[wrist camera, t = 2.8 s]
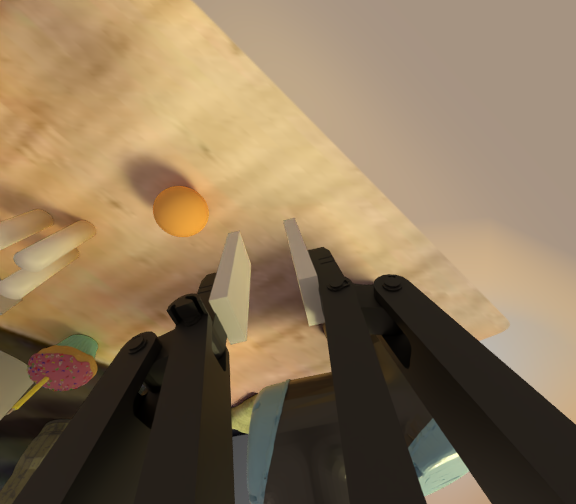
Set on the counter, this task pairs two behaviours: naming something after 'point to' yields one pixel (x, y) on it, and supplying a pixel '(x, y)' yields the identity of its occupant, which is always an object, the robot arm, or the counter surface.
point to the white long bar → (7, 303)
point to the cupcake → (62, 366)
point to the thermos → (32, 459)
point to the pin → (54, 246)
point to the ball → (180, 211)
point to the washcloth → (243, 415)
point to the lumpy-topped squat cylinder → (12, 381)
